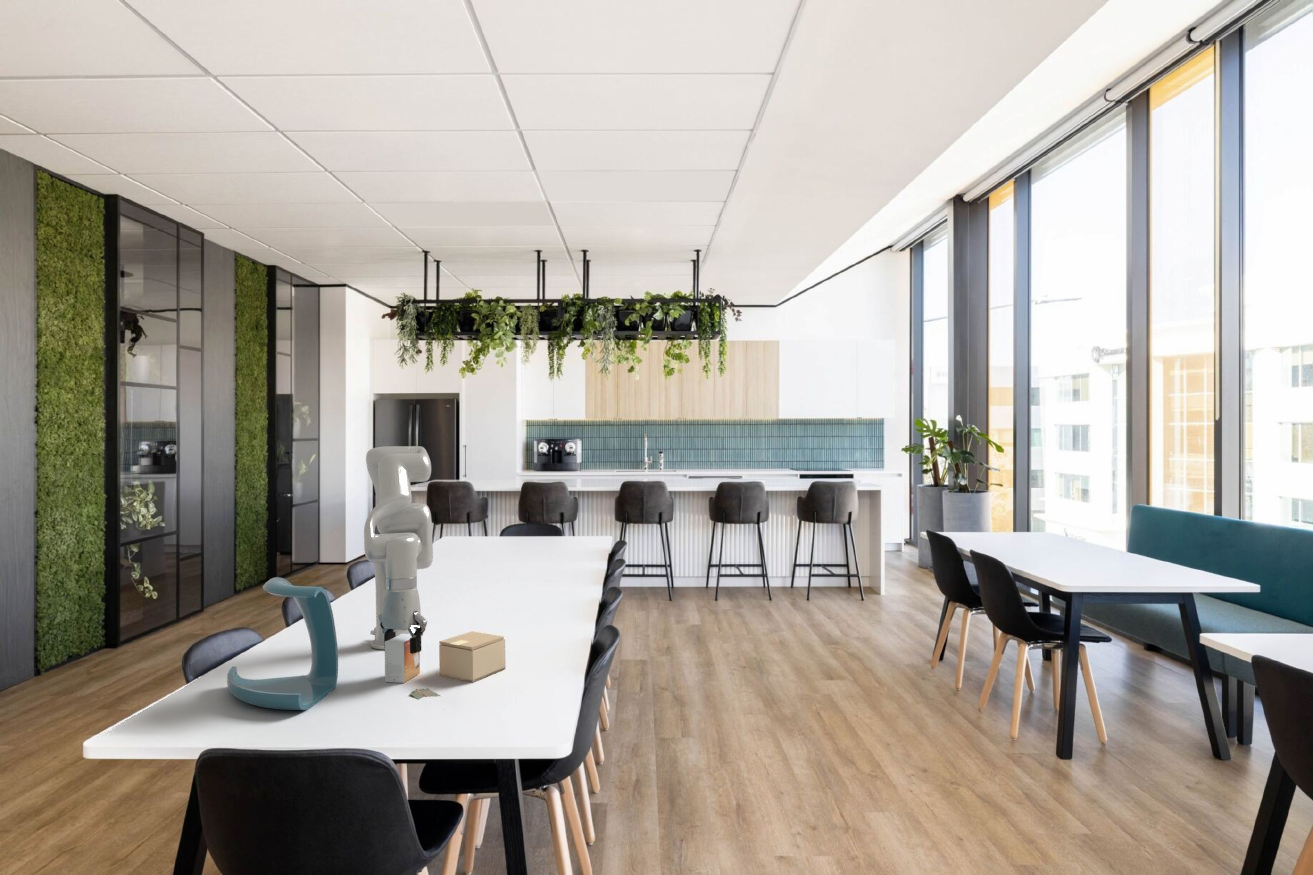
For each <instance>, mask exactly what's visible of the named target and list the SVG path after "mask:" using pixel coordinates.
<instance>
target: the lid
mask: <svg viewBox="0 0 1313 875" xmlns="http://www.w3.org/2000/svg"><path fill="white" fill-rule="evenodd" d="M503 639H505V636H501V635H496V634H490V633H486V632H485V633H484V632H479V631H468V632H465V633H462V634H458V635H456V636H453V637H449V638H447V639H446V638H445V639H443V640H440V641H439V645H440V644H442V645H447V646H453V647H458V648H464V649H469V650H473V649H476V648H479V647H482V646H485V645H488V644H491V643H494V642H497V641H500V640H503Z"/></svg>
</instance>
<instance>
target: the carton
mask: <svg viewBox="0 0 1313 875" xmlns="http://www.w3.org/2000/svg"><path fill="white" fill-rule="evenodd" d="M438 648H439V651H438V653H439V676H440V677H441V676H442V677H444V678H445V677H446V678H449V679H455V680H459V681H464V682H469V683H476V682H478V681H481V680H483V679H486V678H488V677H490V676H492V675H495V674H497V673H500V672H503V671H505V670H506V639H505V638H504V639H503V640H500V641H497V642H494V643H491V644H488V645H485V646H482V647H479V648H476V649H473V650H469V649H464V648H458V647H453V646H447V645H442V644H439V646H438Z"/></svg>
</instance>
